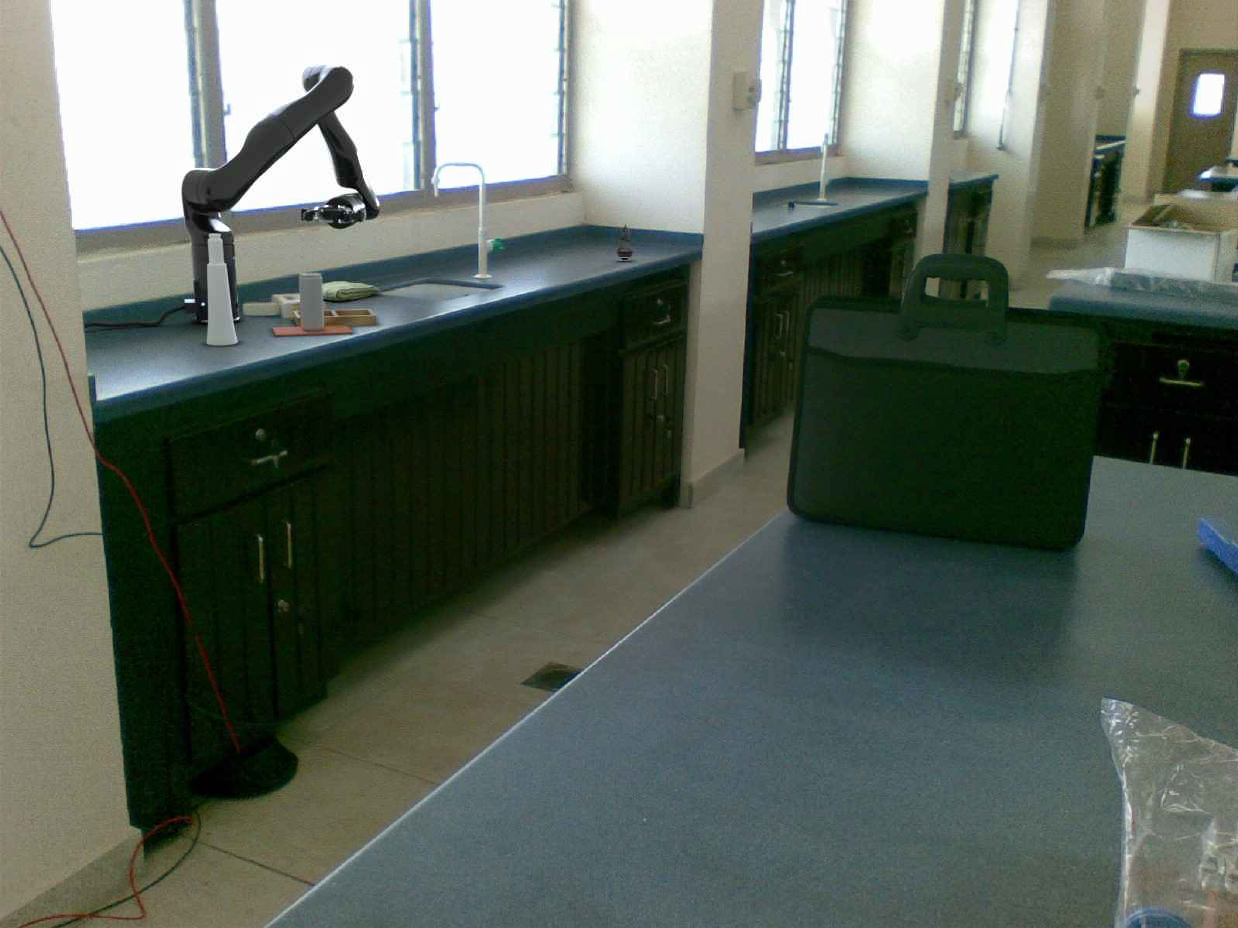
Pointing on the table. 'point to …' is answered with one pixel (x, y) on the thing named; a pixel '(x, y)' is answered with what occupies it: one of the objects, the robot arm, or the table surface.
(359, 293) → the washcloth
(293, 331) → the mat
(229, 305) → the cosmetic bottle
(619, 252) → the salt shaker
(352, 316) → the wooden compartment tray
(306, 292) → the grey rectangular block
